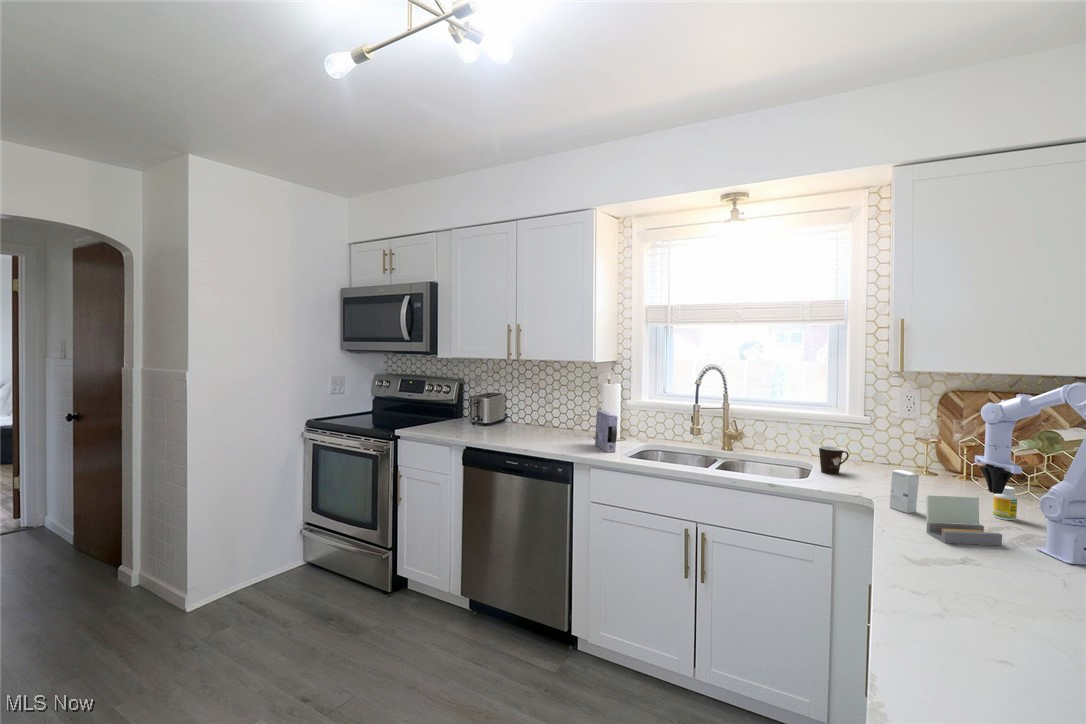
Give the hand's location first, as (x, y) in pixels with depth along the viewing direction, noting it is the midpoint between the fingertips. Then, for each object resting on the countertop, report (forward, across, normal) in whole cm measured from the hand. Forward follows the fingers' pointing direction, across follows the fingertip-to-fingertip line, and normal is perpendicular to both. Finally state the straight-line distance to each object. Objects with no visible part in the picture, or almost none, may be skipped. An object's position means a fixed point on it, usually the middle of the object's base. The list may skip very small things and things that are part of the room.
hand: (995, 492), depth 150 cm
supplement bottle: (+11, +11, -11) cm, 19 cm away
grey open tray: (+10, -10, +15) cm, 21 cm away
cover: (+4, -6, +15) cm, 17 cm away
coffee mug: (+11, +63, +16) cm, 66 cm away
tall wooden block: (+10, -10, +15) cm, 21 cm away
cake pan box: (+11, +95, +107) cm, 144 cm away
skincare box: (+11, +15, +16) cm, 24 cm away
